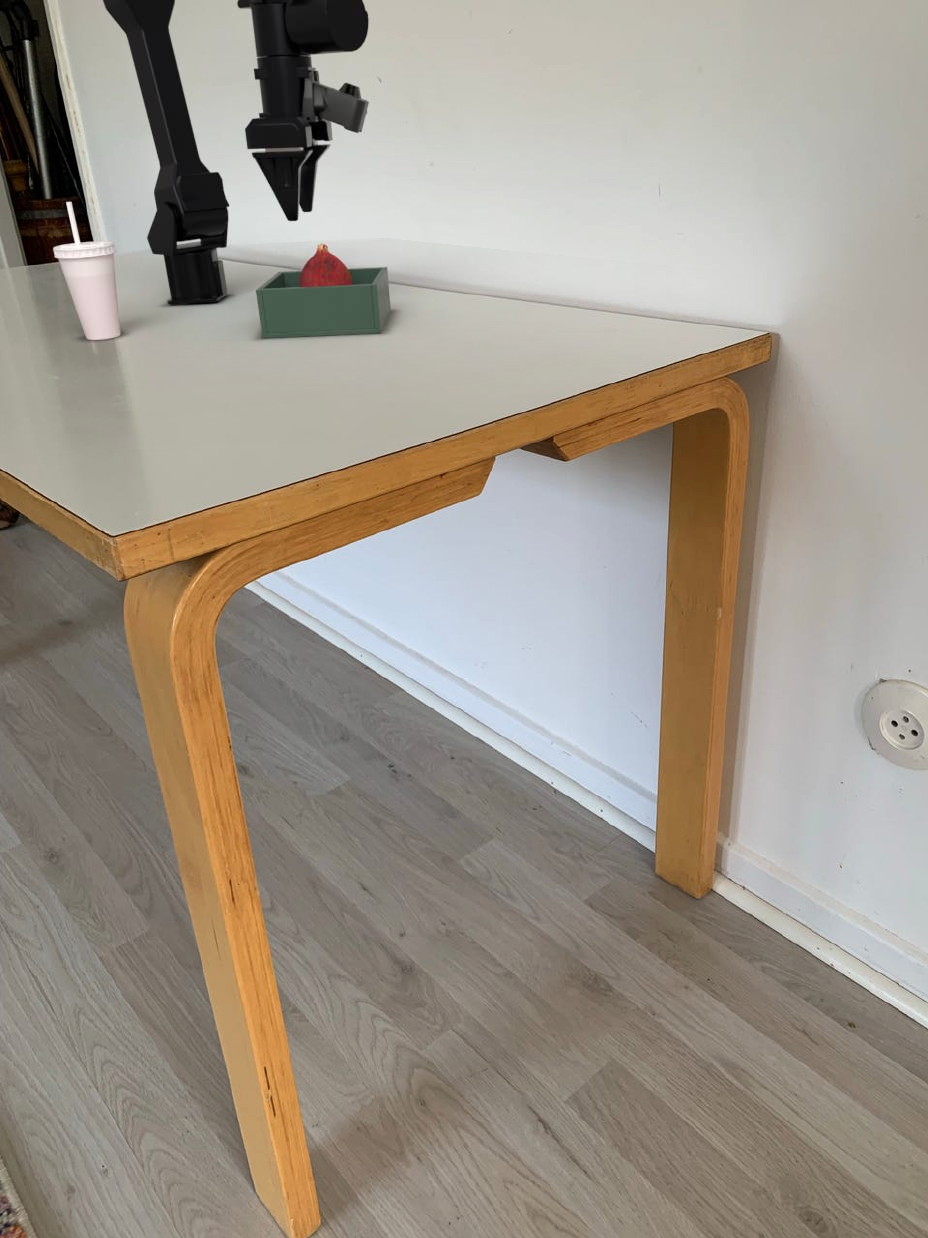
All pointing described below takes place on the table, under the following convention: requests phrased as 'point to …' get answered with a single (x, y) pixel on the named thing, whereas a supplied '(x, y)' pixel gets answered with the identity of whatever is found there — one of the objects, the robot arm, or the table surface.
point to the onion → (324, 270)
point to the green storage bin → (324, 305)
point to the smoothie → (91, 283)
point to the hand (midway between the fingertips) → (300, 216)
